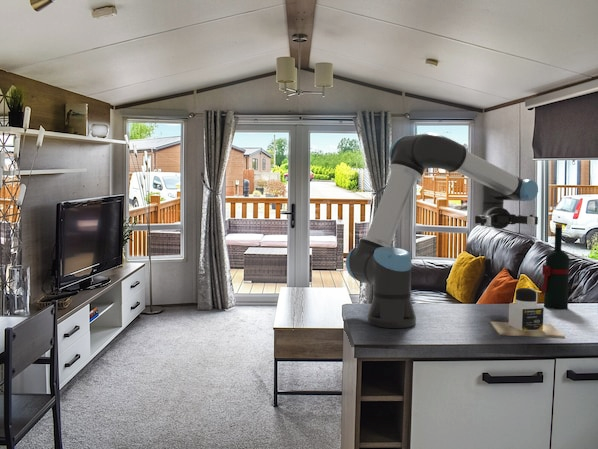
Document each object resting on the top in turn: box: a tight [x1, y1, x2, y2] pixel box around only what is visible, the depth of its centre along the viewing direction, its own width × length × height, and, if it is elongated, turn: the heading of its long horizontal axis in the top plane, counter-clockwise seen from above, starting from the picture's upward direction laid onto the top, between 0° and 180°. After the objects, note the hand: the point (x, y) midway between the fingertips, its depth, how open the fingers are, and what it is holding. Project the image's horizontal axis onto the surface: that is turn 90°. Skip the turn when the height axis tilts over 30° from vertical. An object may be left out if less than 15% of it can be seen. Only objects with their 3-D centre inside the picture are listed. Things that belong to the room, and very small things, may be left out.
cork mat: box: [490, 321, 566, 339], centre depth 171 cm, size 18×14×1 cm
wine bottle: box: [539, 223, 570, 311], centre depth 202 cm, size 8×10×30 cm
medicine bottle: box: [508, 287, 545, 332], centre depth 170 cm, size 7×7×12 cm
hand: (511, 221), depth 182 cm, fingers open, 13 cm apart
